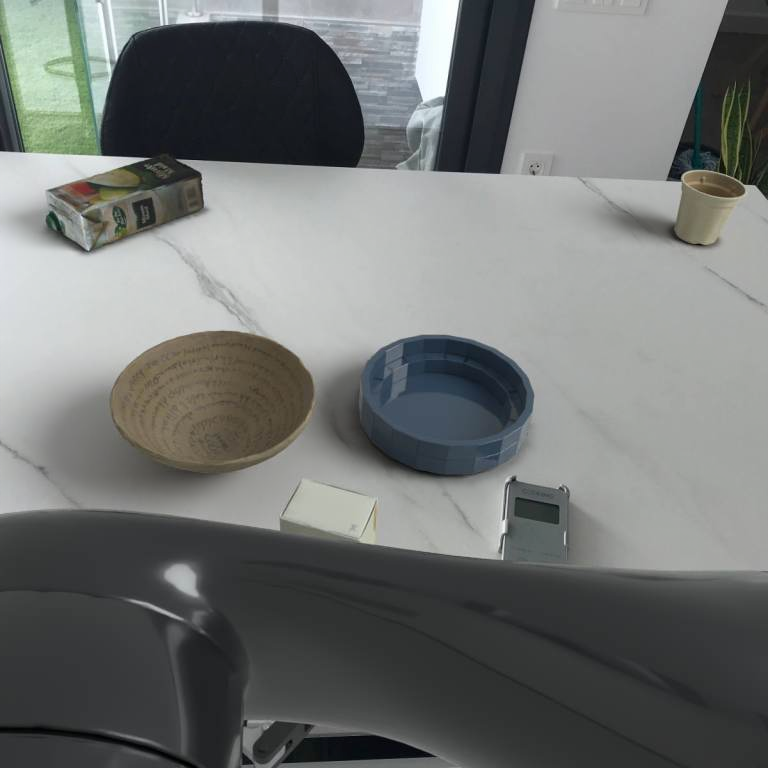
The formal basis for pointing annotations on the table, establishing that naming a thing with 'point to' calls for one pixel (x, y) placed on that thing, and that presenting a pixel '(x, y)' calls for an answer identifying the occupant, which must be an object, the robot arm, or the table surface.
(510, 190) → the table surface
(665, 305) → the table surface
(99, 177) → the juice carton
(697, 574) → the robot arm
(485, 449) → the serving bowl
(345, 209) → the table surface
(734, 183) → the flower pot
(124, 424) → the bowl
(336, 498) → the cosmetic box
